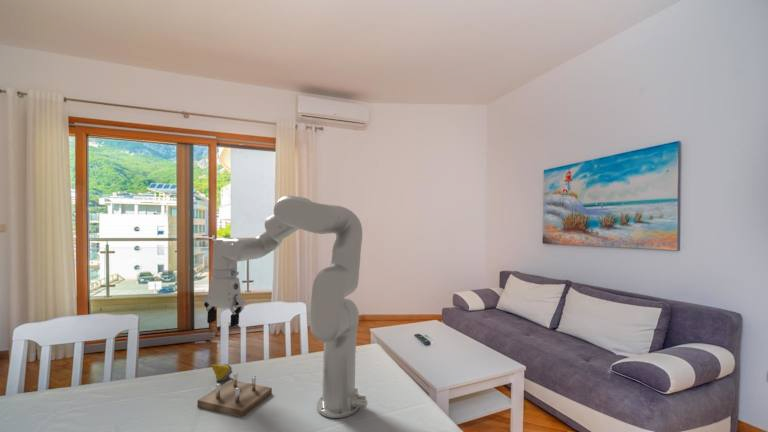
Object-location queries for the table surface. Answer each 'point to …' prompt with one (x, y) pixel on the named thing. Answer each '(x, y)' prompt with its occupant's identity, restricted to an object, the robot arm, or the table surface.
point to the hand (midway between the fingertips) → (223, 323)
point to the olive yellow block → (222, 371)
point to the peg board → (235, 397)
